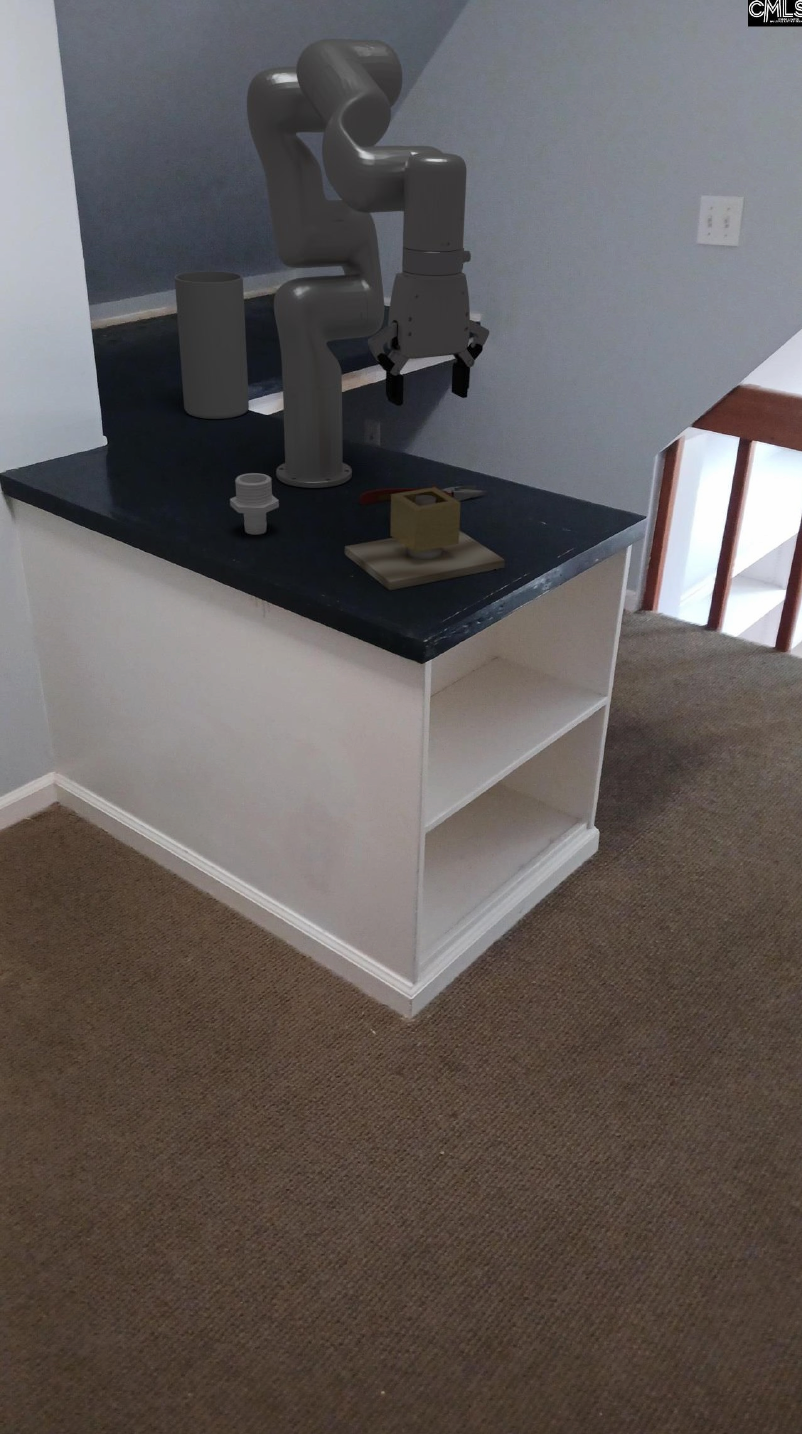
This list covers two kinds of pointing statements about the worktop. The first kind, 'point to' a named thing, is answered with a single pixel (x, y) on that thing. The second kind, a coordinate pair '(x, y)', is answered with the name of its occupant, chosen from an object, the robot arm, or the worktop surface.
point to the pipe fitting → (254, 501)
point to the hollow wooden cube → (425, 520)
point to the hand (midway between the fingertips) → (427, 399)
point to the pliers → (385, 494)
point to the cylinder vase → (212, 343)
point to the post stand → (422, 559)
